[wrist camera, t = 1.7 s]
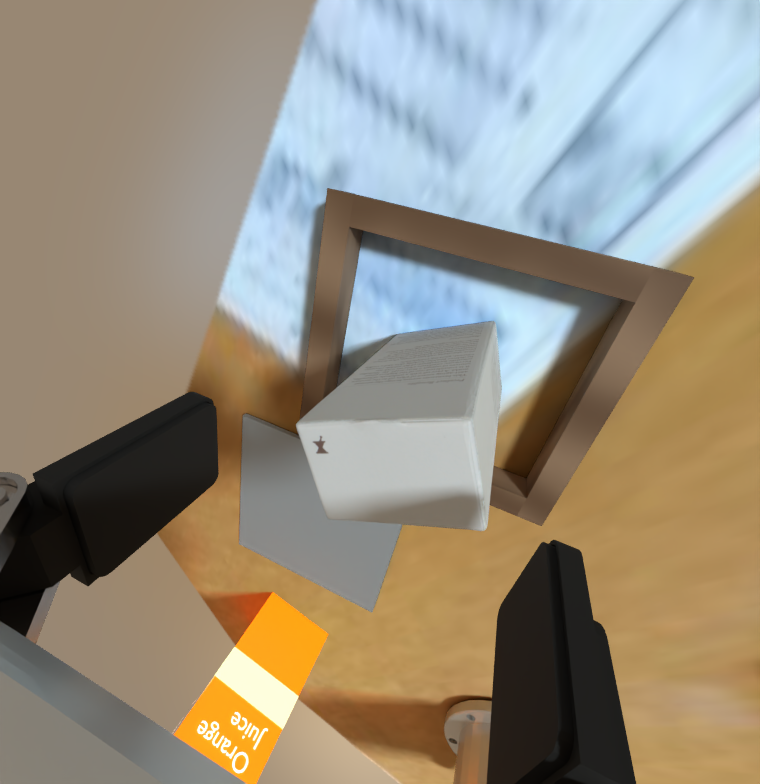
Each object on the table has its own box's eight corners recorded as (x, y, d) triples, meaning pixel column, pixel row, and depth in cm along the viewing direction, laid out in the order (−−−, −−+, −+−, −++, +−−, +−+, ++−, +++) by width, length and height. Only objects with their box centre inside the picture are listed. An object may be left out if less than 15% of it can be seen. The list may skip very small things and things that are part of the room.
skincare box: (409, 395, 24) (321, 521, 14) (396, 332, 22) (288, 421, 12) (506, 389, 21) (489, 537, 11) (498, 318, 20) (471, 413, 10)
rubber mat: (373, 608, 34) (372, 612, 34) (241, 541, 37) (239, 543, 37) (416, 484, 26) (414, 487, 26) (246, 413, 30) (242, 415, 29)
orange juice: (329, 634, 38) (174, 959, 21) (301, 662, 43) (154, 948, 26) (271, 590, 39) (74, 872, 22) (249, 622, 44) (72, 876, 27)
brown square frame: (540, 504, 23) (541, 526, 22) (313, 413, 27) (298, 426, 25) (676, 272, 16) (694, 277, 15) (344, 191, 20) (327, 188, 18)
